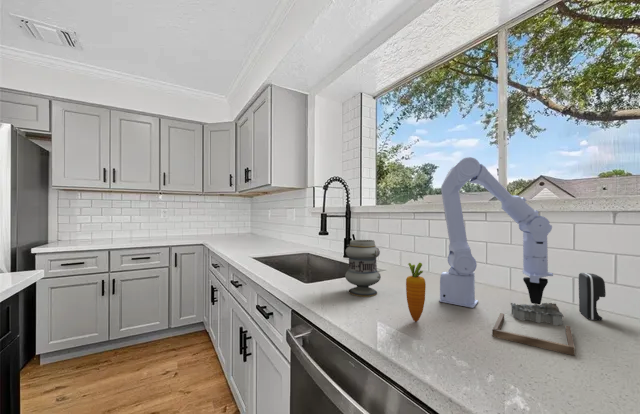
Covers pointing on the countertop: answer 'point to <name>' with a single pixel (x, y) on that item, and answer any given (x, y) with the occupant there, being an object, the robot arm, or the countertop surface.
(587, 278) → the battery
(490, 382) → the countertop surface
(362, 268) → the apothecary jar
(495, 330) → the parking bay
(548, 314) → the egg carton
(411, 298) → the carrot
